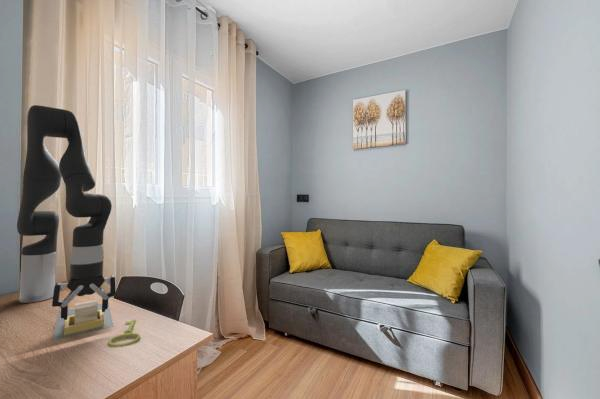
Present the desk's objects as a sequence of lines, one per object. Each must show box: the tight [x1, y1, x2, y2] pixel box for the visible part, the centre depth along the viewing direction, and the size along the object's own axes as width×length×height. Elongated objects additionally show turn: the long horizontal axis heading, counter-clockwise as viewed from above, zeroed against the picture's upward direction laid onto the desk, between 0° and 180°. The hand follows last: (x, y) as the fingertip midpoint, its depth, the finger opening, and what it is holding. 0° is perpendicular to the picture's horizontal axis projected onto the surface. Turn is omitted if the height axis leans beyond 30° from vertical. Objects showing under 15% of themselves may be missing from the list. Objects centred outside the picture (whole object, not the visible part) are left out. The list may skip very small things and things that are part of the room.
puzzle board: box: [51, 303, 114, 342], centre depth 78 cm, size 22×13×3 cm, turn 41°
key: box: [107, 319, 141, 348], centre depth 71 cm, size 7×12×2 cm, turn 39°
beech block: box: [74, 299, 98, 325], centre depth 75 cm, size 5×5×6 cm
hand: (85, 314), depth 75 cm, fingers open, 8 cm apart
